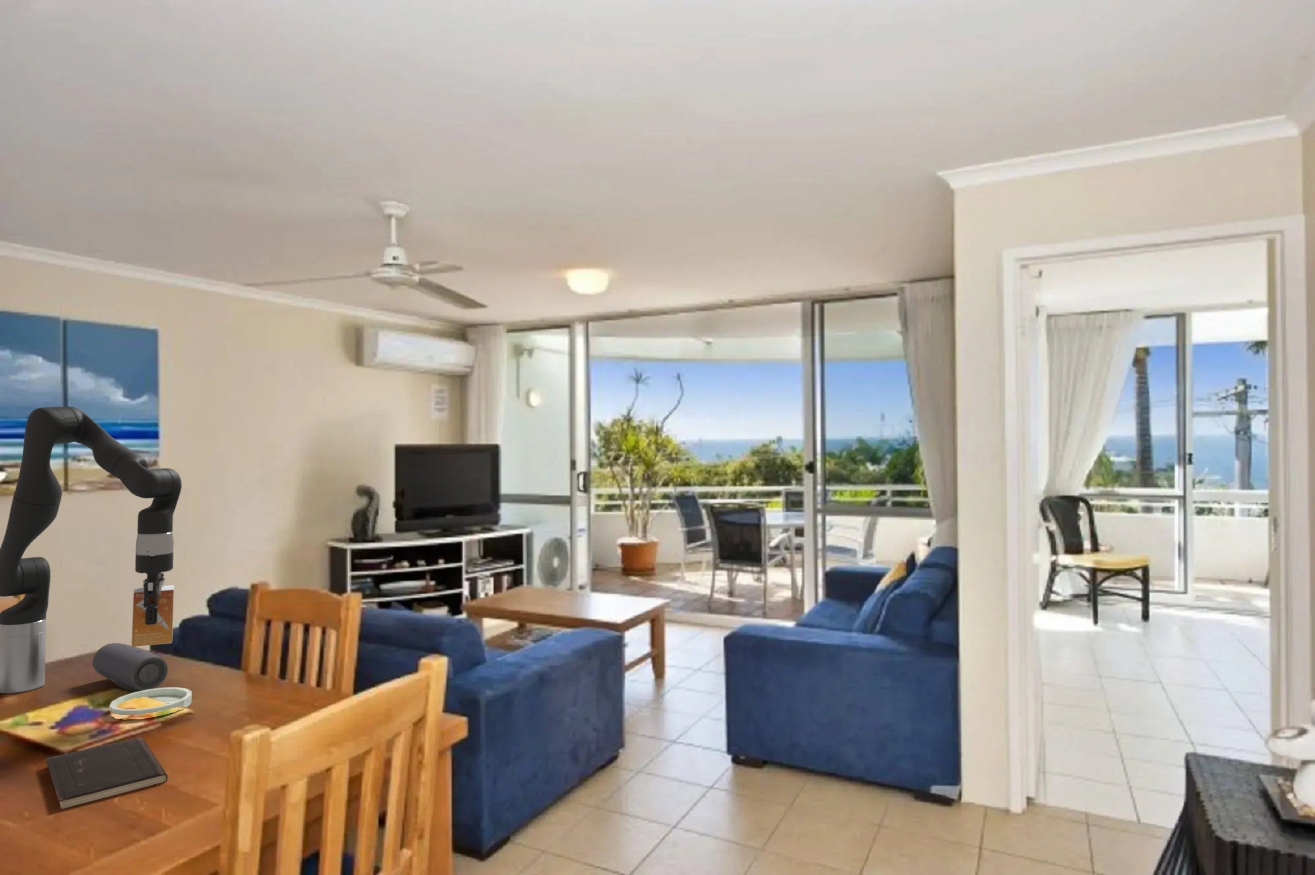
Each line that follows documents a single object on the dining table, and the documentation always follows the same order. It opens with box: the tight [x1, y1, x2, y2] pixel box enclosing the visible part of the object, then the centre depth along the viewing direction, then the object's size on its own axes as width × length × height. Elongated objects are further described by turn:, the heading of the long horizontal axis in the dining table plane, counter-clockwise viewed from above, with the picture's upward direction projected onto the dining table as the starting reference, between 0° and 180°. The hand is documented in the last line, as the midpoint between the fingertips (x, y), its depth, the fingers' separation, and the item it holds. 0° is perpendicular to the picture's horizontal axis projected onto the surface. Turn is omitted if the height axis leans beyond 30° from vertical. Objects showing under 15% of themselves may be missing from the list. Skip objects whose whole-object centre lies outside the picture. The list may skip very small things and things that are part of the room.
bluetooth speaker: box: [92, 642, 169, 692], centre depth 191 cm, size 23×9×10 cm, turn 58°
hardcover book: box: [45, 736, 168, 810], centre depth 141 cm, size 16×23×2 cm
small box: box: [131, 584, 175, 647], centre depth 176 cm, size 8×6×13 cm
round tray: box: [109, 686, 193, 715], centre depth 176 cm, size 16×16×2 cm
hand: (153, 620), depth 176 cm, fingers closed on small box, 6 cm apart
